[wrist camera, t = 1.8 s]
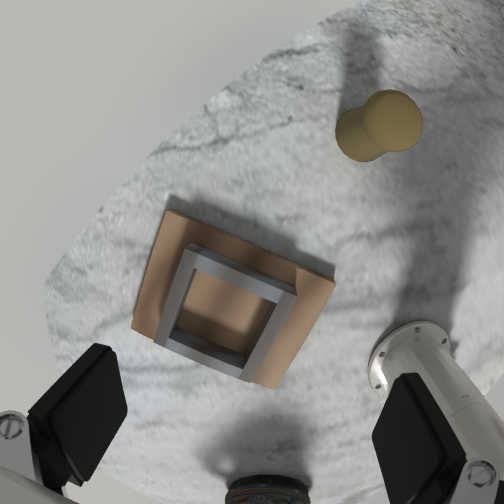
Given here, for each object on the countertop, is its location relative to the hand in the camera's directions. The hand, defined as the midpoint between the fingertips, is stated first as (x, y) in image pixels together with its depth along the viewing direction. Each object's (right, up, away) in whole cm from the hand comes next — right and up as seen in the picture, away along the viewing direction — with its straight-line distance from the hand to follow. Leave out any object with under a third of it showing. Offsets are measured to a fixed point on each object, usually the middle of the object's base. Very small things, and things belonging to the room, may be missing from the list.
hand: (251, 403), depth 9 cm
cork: (+12, +17, +21) cm, 30 cm away
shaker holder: (-3, -1, +26) cm, 26 cm away
